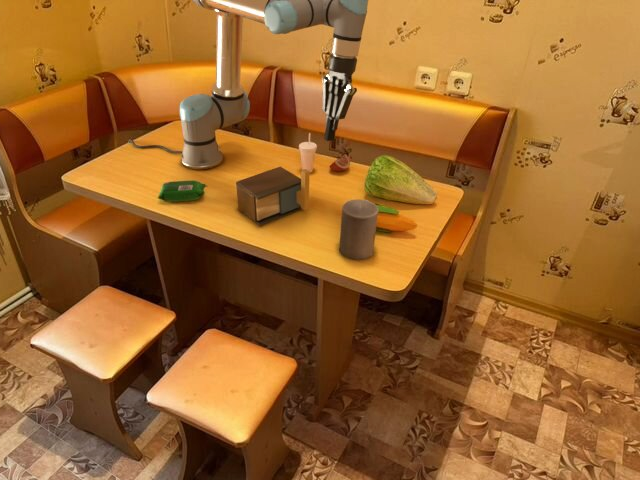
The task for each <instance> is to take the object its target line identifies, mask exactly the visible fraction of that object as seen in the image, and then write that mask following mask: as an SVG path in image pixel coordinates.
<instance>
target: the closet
mask: <svg viewBox="0 0 640 480" xmlns="http://www.w3.org/2000/svg"><path fill="white" fill-rule="evenodd" d="M299 184H301V177H299V176H297V175H296V174H294V173H292V172H291V171H289V170H287V169H286V168H284V167H283V166H277V167H274V168H272V169H268V170H266V171H263V172H260V173H258V174H254V175H251V176H248V177H245V178H243V179H239V180H237V181H235V186H236V187H235V188H236V199H237V200H236V201H237V210H238V211H239V212H241V213H242V215H244V216H246V217H247V218H248V219H249V220H251V221H252V222H253V223H255V224H256V225H257V226H258V227H263V226H264V225H267V224H270V223H272V222H274V221H277V220H280V219H283V218H284V217H287V216H289V215H292V214H294V213H297V212H299V211H301V210H302V211H303V209H301V207H298V208H296V209H293V210H291V211H288V212H286V213H283V214H281V213H280V191H283V190H286V189H288V188H291V187H294V186H296V185H299Z"/></svg>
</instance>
